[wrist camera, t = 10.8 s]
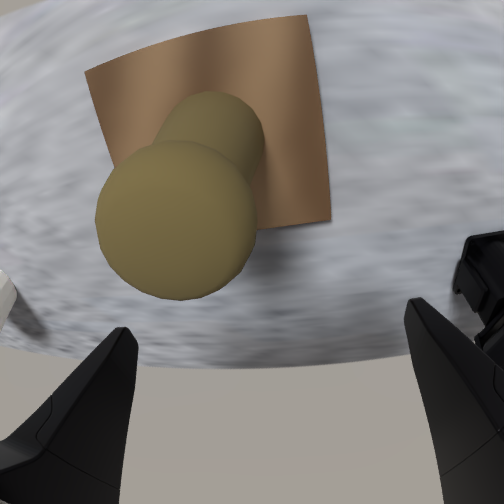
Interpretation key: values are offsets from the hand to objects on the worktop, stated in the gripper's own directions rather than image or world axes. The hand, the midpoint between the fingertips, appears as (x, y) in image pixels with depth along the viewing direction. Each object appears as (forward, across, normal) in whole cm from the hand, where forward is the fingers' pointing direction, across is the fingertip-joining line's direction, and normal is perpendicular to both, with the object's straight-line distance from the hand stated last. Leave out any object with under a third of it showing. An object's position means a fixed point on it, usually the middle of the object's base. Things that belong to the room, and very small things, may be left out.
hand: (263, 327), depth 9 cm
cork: (+12, +3, -3) cm, 12 cm away
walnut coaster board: (+12, +3, -3) cm, 13 cm away
